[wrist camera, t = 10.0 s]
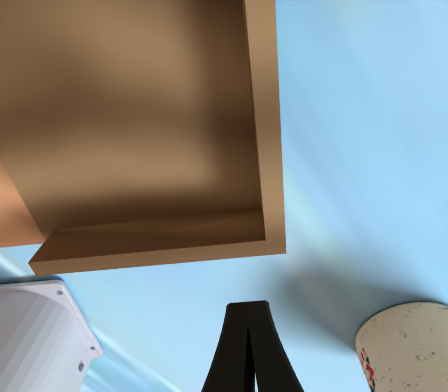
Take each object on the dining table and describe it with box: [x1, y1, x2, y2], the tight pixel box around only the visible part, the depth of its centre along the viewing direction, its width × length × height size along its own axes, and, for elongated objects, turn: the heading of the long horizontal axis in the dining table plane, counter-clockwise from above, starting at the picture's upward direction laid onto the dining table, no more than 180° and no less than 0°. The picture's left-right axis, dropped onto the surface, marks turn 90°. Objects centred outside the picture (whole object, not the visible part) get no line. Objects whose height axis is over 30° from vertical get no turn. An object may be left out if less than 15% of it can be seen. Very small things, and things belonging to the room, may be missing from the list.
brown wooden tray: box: [0, 0, 286, 276], centre depth 15 cm, size 14×23×4 cm, turn 98°
